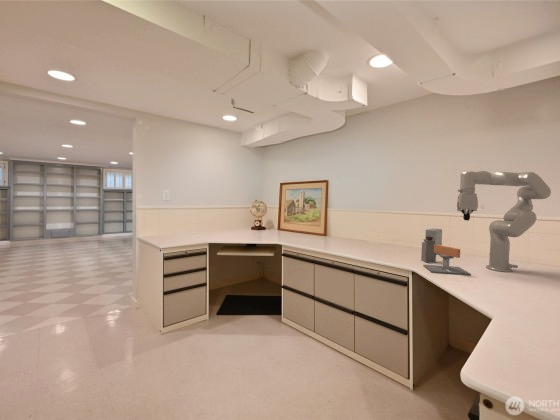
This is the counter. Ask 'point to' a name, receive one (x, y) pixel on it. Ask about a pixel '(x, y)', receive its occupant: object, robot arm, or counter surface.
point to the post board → (453, 270)
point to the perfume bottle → (428, 250)
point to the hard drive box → (435, 235)
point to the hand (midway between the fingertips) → (466, 220)
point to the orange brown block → (447, 251)
